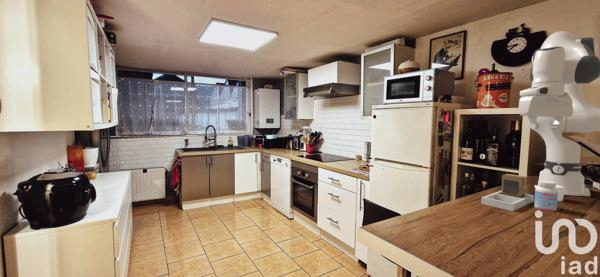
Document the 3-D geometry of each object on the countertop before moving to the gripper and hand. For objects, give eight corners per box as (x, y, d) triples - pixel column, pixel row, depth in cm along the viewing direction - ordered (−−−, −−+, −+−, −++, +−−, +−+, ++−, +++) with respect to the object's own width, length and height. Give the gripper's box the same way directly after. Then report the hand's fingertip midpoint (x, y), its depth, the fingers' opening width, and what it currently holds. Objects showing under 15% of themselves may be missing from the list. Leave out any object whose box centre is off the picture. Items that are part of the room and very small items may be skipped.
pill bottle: (536, 213, 93) (538, 182, 93) (531, 208, 99) (533, 179, 98) (559, 216, 90) (561, 184, 90) (552, 210, 96) (554, 180, 95)
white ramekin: (569, 205, 102) (570, 187, 101) (551, 205, 102) (552, 187, 102) (552, 200, 109) (553, 183, 108) (536, 200, 109) (537, 183, 108)
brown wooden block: (506, 197, 107) (507, 173, 107) (524, 201, 102) (525, 176, 102) (500, 199, 104) (501, 175, 103) (518, 203, 99) (520, 178, 98)
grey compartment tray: (502, 198, 110) (503, 189, 110) (533, 205, 102) (533, 195, 102) (481, 207, 100) (481, 197, 99) (512, 215, 91) (513, 204, 91)
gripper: (560, 93, 100) (558, 129, 101) (515, 91, 97) (513, 128, 97) (580, 91, 94) (577, 129, 95) (533, 89, 91) (531, 128, 91)
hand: (545, 128), depth 96 cm, fingers open, 8 cm apart
